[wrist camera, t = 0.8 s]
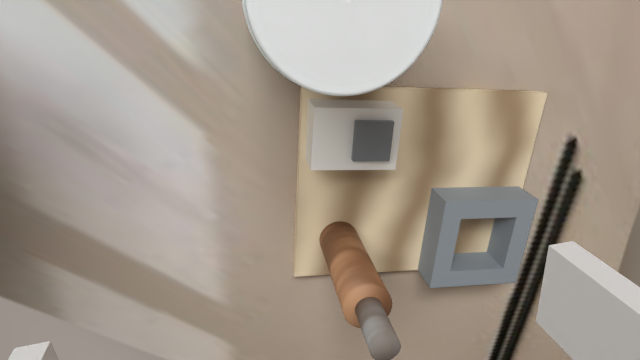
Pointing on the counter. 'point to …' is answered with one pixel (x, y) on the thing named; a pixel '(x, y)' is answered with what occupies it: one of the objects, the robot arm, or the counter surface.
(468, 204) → the socket
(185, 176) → the counter surface
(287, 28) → the supplement tub
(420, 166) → the plywood panel
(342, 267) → the awl
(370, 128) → the block
